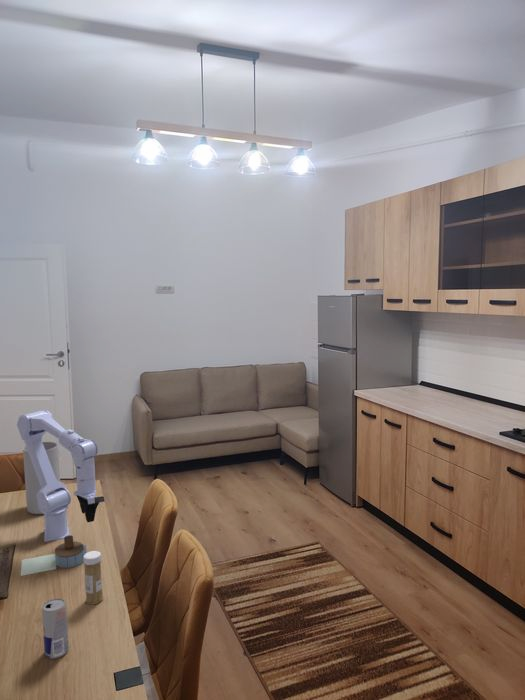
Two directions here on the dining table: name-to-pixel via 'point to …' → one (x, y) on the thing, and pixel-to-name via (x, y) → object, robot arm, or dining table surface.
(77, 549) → the lid
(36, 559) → the mat
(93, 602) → the sprinkles bottle
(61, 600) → the energy drink
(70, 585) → the dining table surface
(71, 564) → the bowl
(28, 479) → the cylinder vase
